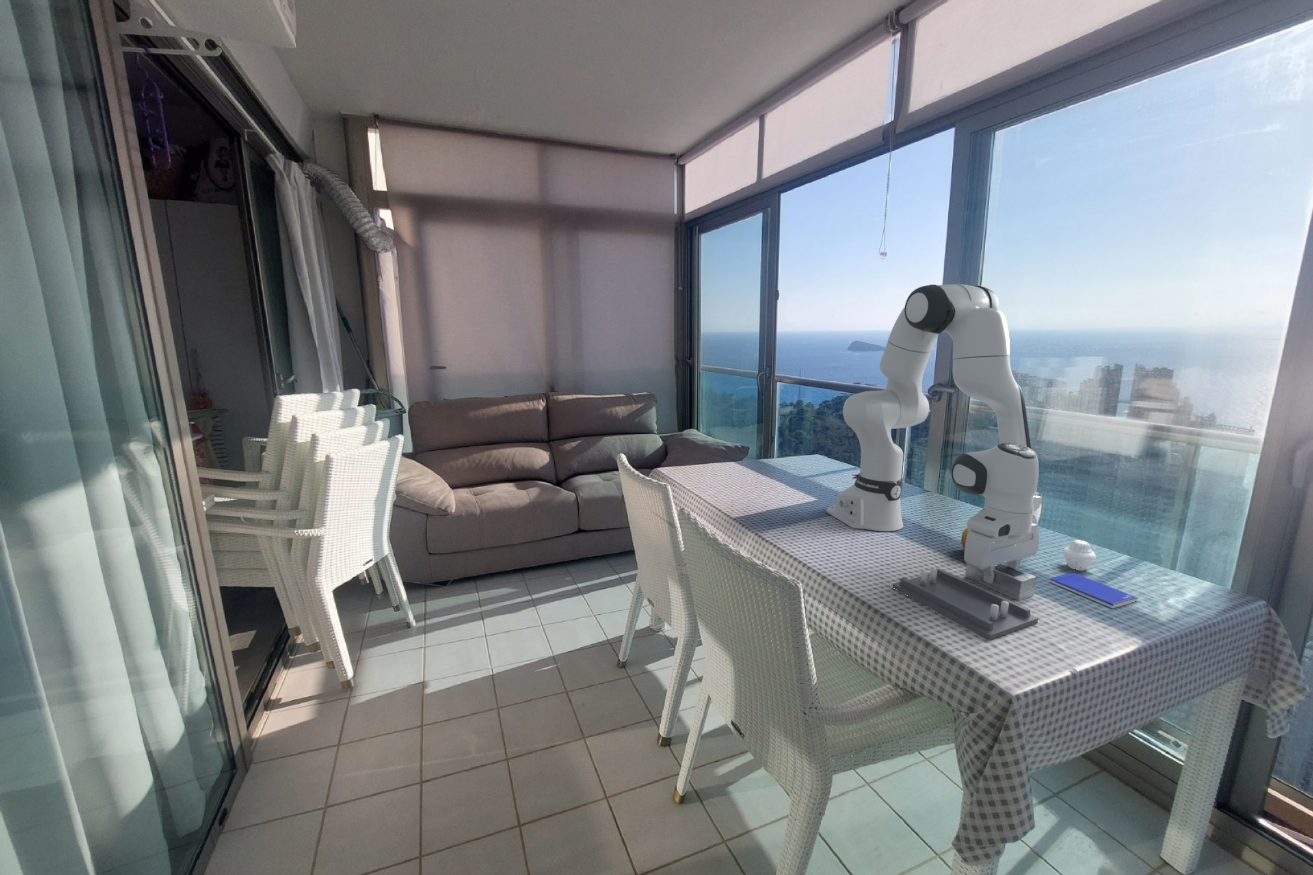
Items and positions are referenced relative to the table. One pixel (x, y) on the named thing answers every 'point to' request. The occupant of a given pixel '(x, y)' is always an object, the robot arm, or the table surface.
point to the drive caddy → (1006, 581)
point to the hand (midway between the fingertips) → (998, 578)
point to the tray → (967, 603)
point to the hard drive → (1093, 590)
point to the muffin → (1079, 555)
